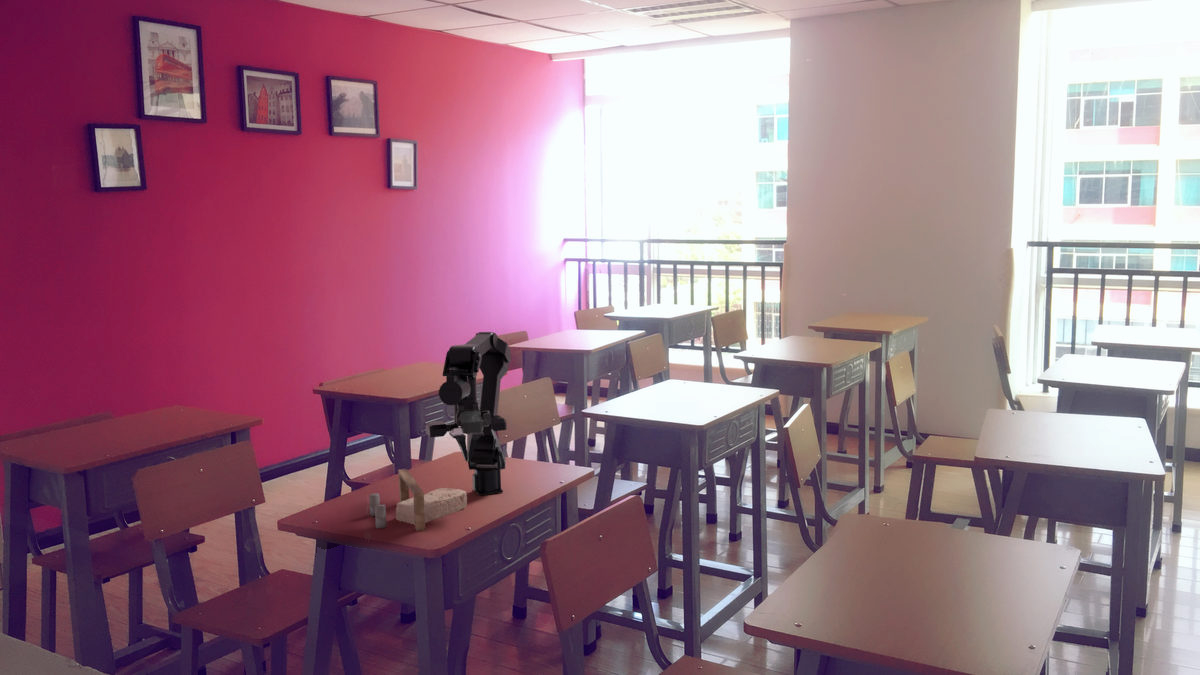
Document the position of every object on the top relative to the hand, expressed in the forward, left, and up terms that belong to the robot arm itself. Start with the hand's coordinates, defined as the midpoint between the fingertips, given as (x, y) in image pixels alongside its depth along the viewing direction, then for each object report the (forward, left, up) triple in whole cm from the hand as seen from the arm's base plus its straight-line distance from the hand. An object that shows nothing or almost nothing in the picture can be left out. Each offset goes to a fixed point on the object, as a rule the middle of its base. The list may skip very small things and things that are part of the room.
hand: (467, 460), depth 227 cm
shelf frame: (+18, 0, -12) cm, 22 cm away
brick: (+9, 0, -13) cm, 16 cm away
